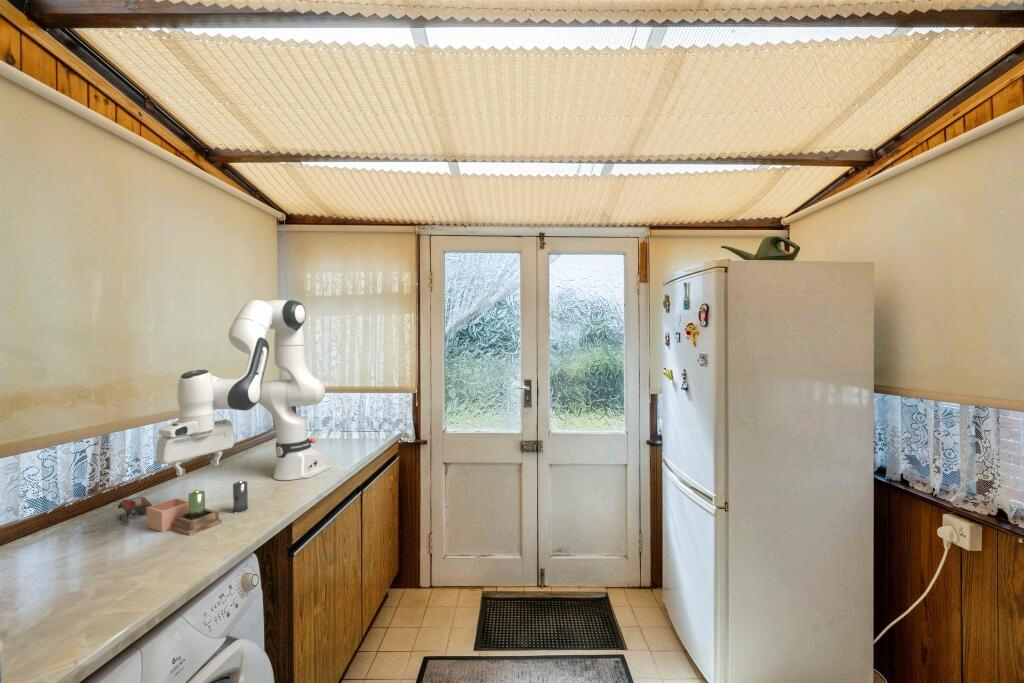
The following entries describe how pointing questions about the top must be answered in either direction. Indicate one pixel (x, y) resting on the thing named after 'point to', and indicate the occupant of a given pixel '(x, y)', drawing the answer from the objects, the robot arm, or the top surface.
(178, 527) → the cell holder
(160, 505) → the cup
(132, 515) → the walkie-talkie
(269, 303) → the robot arm
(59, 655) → the top surface
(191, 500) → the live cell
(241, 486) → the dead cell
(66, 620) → the top surface
